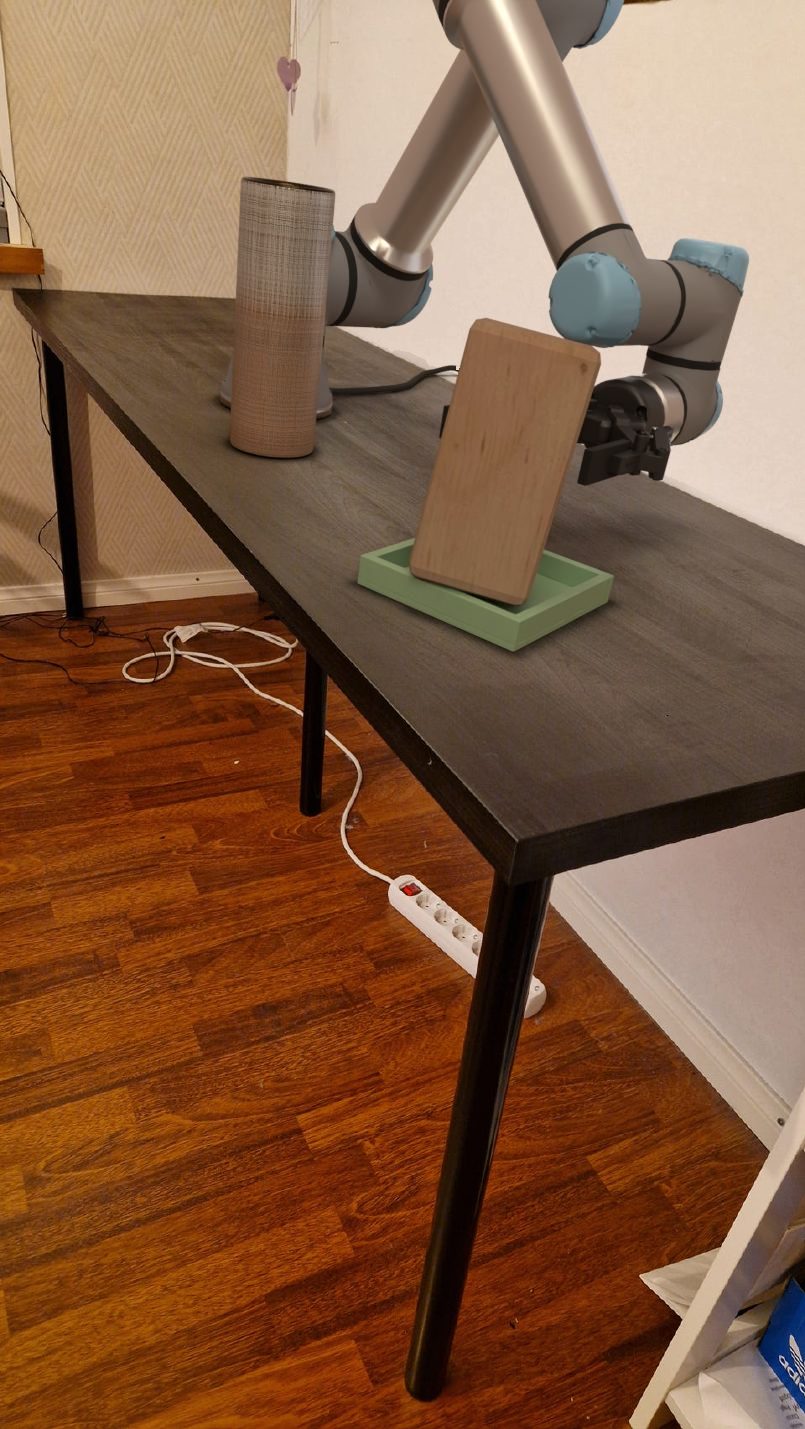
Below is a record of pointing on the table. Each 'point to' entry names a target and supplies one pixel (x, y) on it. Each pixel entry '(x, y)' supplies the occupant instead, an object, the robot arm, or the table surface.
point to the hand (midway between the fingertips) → (511, 444)
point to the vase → (279, 315)
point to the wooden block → (503, 460)
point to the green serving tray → (551, 603)
